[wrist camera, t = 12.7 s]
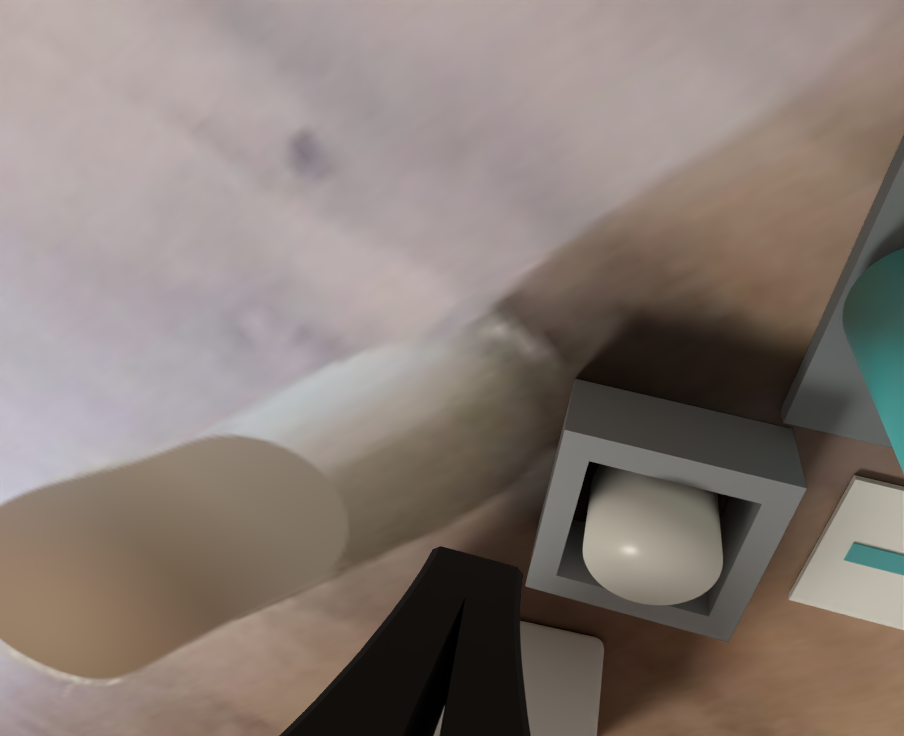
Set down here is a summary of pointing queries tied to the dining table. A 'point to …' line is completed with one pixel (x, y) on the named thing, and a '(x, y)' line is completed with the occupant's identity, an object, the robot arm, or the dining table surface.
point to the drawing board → (829, 354)
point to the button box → (681, 461)
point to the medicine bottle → (559, 681)
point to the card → (859, 556)
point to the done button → (651, 537)
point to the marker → (880, 340)
